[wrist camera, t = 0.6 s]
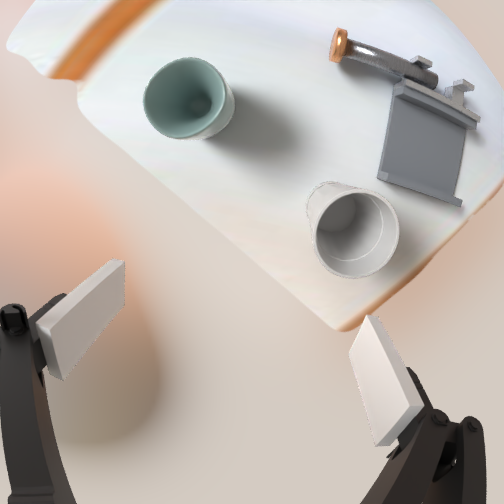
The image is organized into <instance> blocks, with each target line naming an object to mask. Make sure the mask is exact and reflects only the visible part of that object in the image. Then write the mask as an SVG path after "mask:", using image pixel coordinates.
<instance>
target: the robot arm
mask: <svg viewBox="0 0 504 504" xmlns="http://www.w3.org/2000/svg"><path fill="white" fill-rule="evenodd" d="M124 282H125V262H124V261H121V260H118V259H111V260H110V261H109V262H107V263H106V264H105V265H104V266H102V267H101V268H100V269H99V270H97V271H96V272H95V273H93V274H92V275H91V276H90V277H89V278H87V279H86V280H85V281H83V282H82V283H81V284H80V285H79V286H77V287H76V288H75V289H74V290H73V291H71V292H70V293H69V294H68V295H67V294H64V293H62V294H60V295H57V296H55V297H54V298H52V299H51V300H50V301H49V302H48V303H46V304H45V305H44V306H43V307H42V308H40V309H39V310H38V311H37V312H36V313H34V314H33V315H32V316H31V317H30V318H29V319H27V314H26V310H25V308H24V307H23V306H22V305H20V304H8V305H6V306H4V307H2V308H1V309H0V324H1V327H0V417H1V429H2V438H3V447H4V453H5V460H6V465H7V471H8V476H9V481H10V484H11V490H12V493H11V495H10V496H9V497H8V504H77V503H76V501H75V498H74V496H73V493H72V491H71V488H70V485H69V482H68V480H67V476H66V473H65V470H64V467H63V465H62V461H61V457H60V454H59V450H58V447H57V443H56V439H55V435H54V431H53V426H52V422H51V417H50V411H49V406H48V400H47V394H46V388H45V381H44V374H43V371H42V369H43V368H44V367H45V366H46V365H47V367H48V370H49V373H50V375H52V376H54V377H56V378H58V379H60V380H62V381H64V379H65V378H66V377H67V376H68V374H69V373H70V372H71V370H72V369H73V368H74V367H75V365H76V364H77V363H78V361H79V360H80V359H81V358H82V356H83V355H84V354H85V352H86V351H87V350H88V349H89V347H90V346H91V345H92V344H93V342H94V341H95V340H96V339H97V338H98V336H99V335H100V334H101V333H102V331H103V330H104V329H105V328H106V327H107V325H108V324H109V323H110V322H111V320H112V319H113V318H114V317H115V316H116V315H117V313H118V312H119V311H120V310H121V309H122V308H123V306H124ZM348 355H349V358H350V361H351V364H352V368H353V371H354V374H355V377H356V380H357V384H358V387H359V390H360V394H361V397H362V400H363V404H364V407H365V411H366V414H367V418H368V421H369V425H370V429H371V432H372V436H373V439H374V444H375V446H390V445H391V444H392V443H393V442H394V440H395V439H396V438H398V441H399V445H398V446H397V447H396V448H395V449H394V450H393V451H392V452H391V453H390V454H389V455H388V456H387V458H389V457H390V456H391V457H390V458H389V460H388V462H387V463H386V465H385V467H384V469H383V470H382V472H381V473H380V475H379V477H378V478H377V480H376V481H375V483H374V484H373V486H372V487H371V489H370V490H369V492H368V493H367V495H366V496H365V498H364V499H363V501H362V502H361V503H360V504H486V456H485V443H484V433H483V428H482V425H481V423H480V421H478V420H477V419H476V418H474V417H472V416H468V417H465V418H464V419H463V420H462V422H461V423H455V422H450V420H449V418H448V416H447V415H446V414H445V413H444V412H442V411H441V410H438V409H433V407H432V404H431V402H430V400H429V398H428V396H427V395H426V392H425V390H424V389H423V387H422V385H421V383H420V381H419V379H418V377H417V375H416V374H415V373H414V372H413V371H412V369H410V367H405V365H404V363H403V362H402V359H401V357H400V355H399V353H398V352H397V350H396V348H395V346H394V344H393V342H392V340H391V339H390V337H389V335H388V333H387V331H386V329H385V328H384V326H383V324H382V322H381V321H380V319H379V317H377V316H371V315H366V317H365V319H364V321H363V324H362V326H361V328H360V330H359V332H358V334H357V337H356V339H355V341H354V343H353V345H352V347H351V349H350V351H349V353H348ZM455 460H456V463H455Z"/></svg>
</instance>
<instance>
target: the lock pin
mask: <svg viewBox="0 0 504 504" xmlns="http://www.w3.org/2000/svg"><path fill="white" fill-rule="evenodd" d="M343 57H346V58H350V59H353V60H356V61H359V62H362V63H366V64H368V65H371V66H374V67H377V68H380V69H383V70H385V71H388V72H390V73H393V74H396V75H398V76H401V77H403V78H405V79H408V80H411V81H413V82H415V83H417V84H420V85H422V86H424V87H426V88H428V89H430V90H434V89H435V88H436V86H437V84H438V75H437V74H436V73H434V72H432V71H430V70H427V69H425V68H423V67H421V66H419V65H417V64H415V63H412V62H410V61H408V60H406V59H403V58H401V57H398V56H396V55H394V54H391V53H388V52H386V51H383V50H381V49H378V48H375V47H372V46H369V45H366V44H363V43H360V42H357V41H354V40H351V39H348V38H347V30H344V29H341V28H336V30H335V32H334V35H333V38H332V42H331V47H330V53H329V61H332V62H335V63H340V62H341V60H342V58H343Z"/></svg>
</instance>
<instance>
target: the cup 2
mask: <svg viewBox="0 0 504 504" xmlns="http://www.w3.org/2000/svg"><path fill="white" fill-rule="evenodd" d="M306 213H307V216H308V218H309V223H310V227H311V235H312V242H313V247H314V251H315V254H316V256H317V258H318V260H319V261H320V263H321V264H322V265H323V266H324V267H325V268H326V269H327V270H328V271H330V272H331V273H333V274H335V275H337V276H340V277H343V278H351V279H355V278H362V277H366V276H369V275H371V274H373V273H375V272H377V271H378V270H380V269H381V268H382V267H383V266H384V265H385V264H386V263H387V262H388V261H389V260H390V258H391V257H392V255H393V254H394V252H395V250H396V247H397V244H398V240H399V232H400V229H399V221H398V217H397V214H396V212H395V210H394V208H393V207H392V205H391V204H390V203H389V202H388V201H387V200H386V199H385V198H384V197H383V196H381V195H380V194H378V193H376V192H373V191H370V190H366V189H361V188H356V187H351V186H347V185H343V184H340V183H337V182H324V183H321V184H319V185H318V186H316V187H315V188H314V189H313V190H312V191H311V192H310V194H309V196H308V198H307V201H306Z"/></svg>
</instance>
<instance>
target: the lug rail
mask: <svg viewBox="0 0 504 504" xmlns="http://www.w3.org/2000/svg"><path fill="white" fill-rule="evenodd" d="M410 62H412V63H415V64H417V65H419V66H421V67H423V68H425V69H428V68H430V67H432V62H431V61H429V60H427V59H425V58H423V57H421V56H419V55H418V56H416V57H414V58H412V59H411V60H410ZM402 86H405V87H408V88H410V89H413V90H415V91H417V92H419V93H422V94H424V95H426V96H428V97H430V98H432V99H434V100H436V101H438V102H440V103H442V104H444V105H446V106H448V107H450V108H452V109H454V110H456V111H458V112H460V113H461V114H463V115H465V116H467V117H468V118H470V119H472V120H474V121H475V122H480V116H478V115H476V114H475V113H473V112H471V111H470V110H468V109H466V108H465V107H463V98H464V92H467V91H473V90H474V85H472V84H471V83H469V82H467V81H466V80H464V79H461V80H457V81H453V86H451V87H447V88H445V95H444V96H442V95H441V94H439V93H437V92H435V91H432V90H430V89H428V88H426V87H424V86H422V85H420V84H417V83H415V82H413V81H411V80H408V79H405V78H403V77H402V80H401V82H399V83H396V84H394V87H393V90H395V89H397V88H400V87H402Z"/></svg>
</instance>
